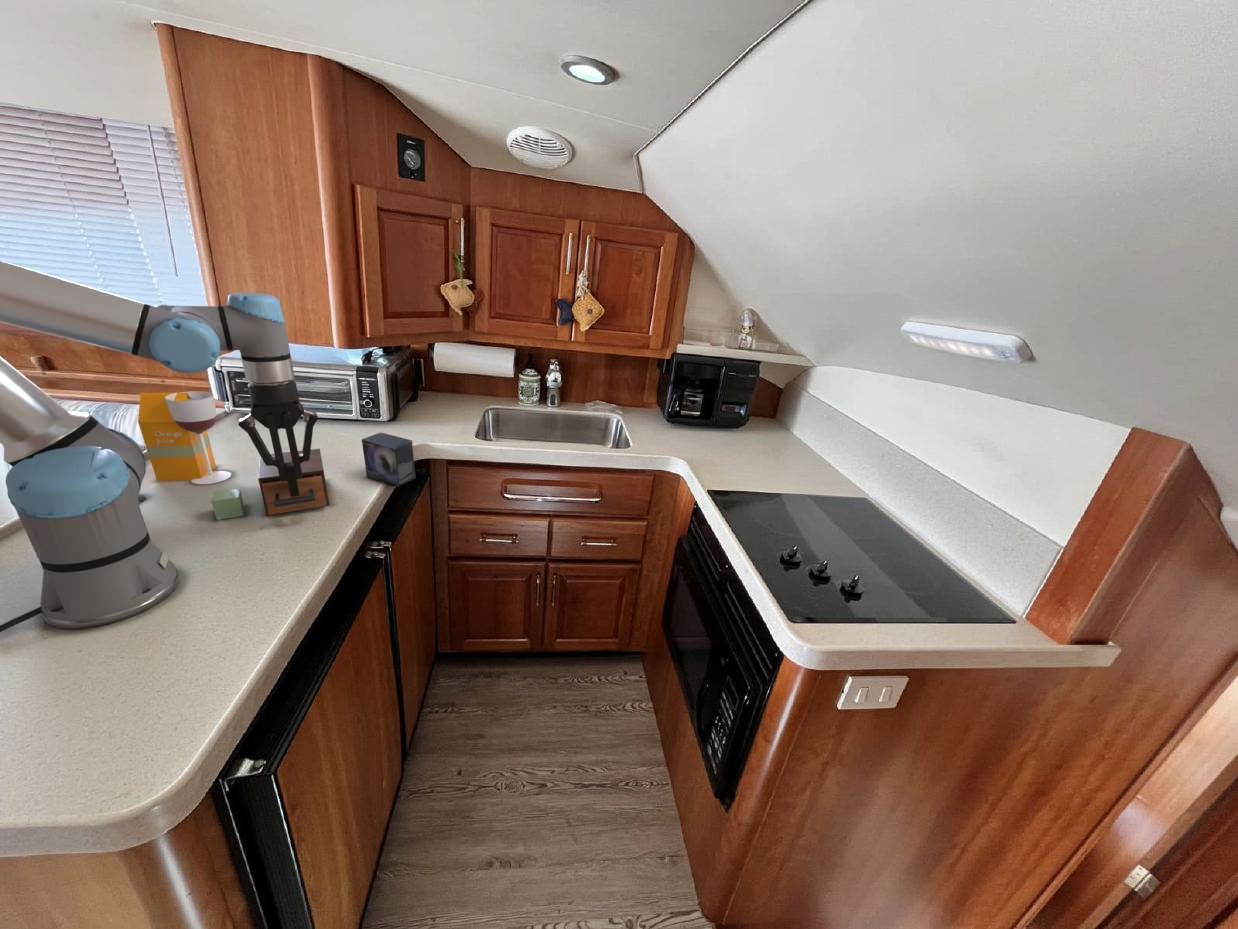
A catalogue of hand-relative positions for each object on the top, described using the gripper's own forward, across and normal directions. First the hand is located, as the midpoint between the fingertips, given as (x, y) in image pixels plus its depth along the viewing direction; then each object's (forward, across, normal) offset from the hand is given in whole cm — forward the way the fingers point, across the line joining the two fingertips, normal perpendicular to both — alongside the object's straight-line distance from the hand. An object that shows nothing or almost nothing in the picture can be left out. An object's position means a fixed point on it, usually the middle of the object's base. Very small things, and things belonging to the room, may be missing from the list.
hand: (294, 493), depth 101 cm
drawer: (+5, 0, -6) cm, 8 cm away
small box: (+6, -20, -14) cm, 25 cm away
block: (+6, +12, -8) cm, 16 cm away
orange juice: (+6, +22, -34) cm, 41 cm away
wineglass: (+6, +17, -30) cm, 35 cm away
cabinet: (+6, 0, -11) cm, 13 cm away
